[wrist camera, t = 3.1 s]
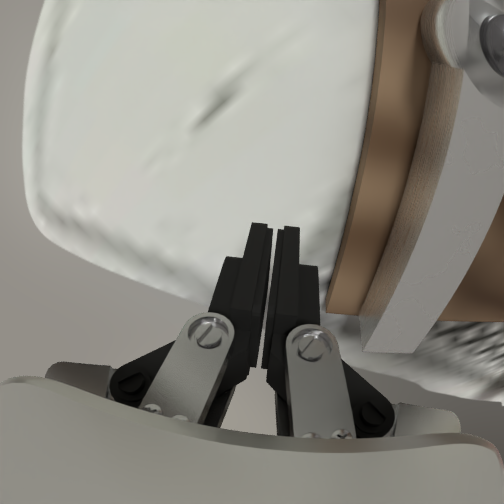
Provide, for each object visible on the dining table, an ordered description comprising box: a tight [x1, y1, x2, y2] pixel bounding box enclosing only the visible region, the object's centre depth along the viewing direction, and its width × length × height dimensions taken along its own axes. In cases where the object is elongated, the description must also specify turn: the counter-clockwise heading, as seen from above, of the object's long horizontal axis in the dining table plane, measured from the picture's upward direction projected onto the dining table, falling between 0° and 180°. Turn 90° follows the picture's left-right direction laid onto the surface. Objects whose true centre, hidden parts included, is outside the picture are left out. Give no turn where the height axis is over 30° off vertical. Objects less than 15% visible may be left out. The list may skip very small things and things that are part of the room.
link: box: [359, 0, 504, 353], centre depth 11 cm, size 20×5×4 cm, turn 178°
